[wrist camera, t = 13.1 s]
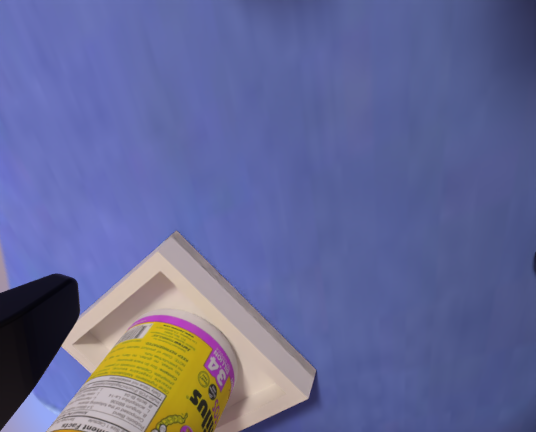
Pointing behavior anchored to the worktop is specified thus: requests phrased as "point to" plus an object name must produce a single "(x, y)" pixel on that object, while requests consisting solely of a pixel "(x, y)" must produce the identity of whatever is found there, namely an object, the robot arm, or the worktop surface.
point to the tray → (211, 309)
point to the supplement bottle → (157, 379)
